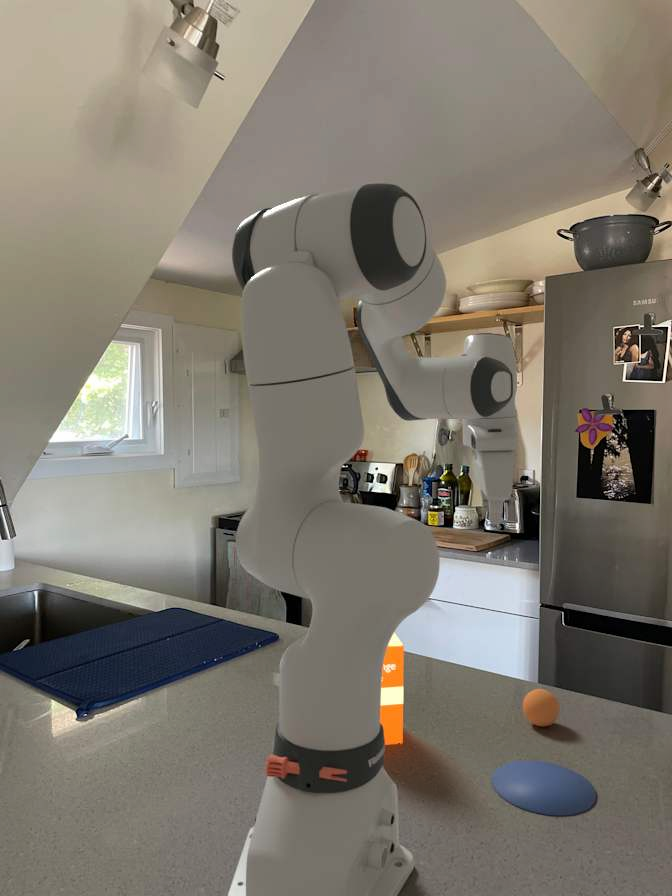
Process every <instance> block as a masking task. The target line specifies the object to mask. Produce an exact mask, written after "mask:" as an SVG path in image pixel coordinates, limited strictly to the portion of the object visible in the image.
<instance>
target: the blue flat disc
mask: <svg viewBox="0 0 672 896" xmlns="http://www.w3.org/2000/svg"><path fill="white" fill-rule="evenodd" d="M491 785H492V788H493V789H494V791H495V792H496V793H497V795H499V796H500V798H502V799H504V800H505V802H507V803H509V804H511V805H513V806H515V807H517V808H519V809H522V810H525V811H528V812H531V813H536V814H540V815H545V816H557V817H558V816H559V817H560V816H563V817H565V816H573V815H577V814H580V813H583V812H586V811H588V810H589V809H591V808H592V806H593V805H594V804H595V803H596V799H597V793H596V792H597V791H596V789H595V787H594V786H593V784H592V783H591V782H590V781H589V780H588V779H587V778H585V777H584V775H581V774H580V773H578V772H577V771H574V770H573V769H570V768H568V767H566V766H562V765H559V764H555V763H551V762H547V761H539V760H520V761H519V760H518V761H513V762H509V763H508V762H507V763H506V764H503V765H501V766H500V767H498V768H496V769H495V770H494V771H493V774H492V776H491Z"/></svg>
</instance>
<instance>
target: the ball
mask: <svg viewBox="0 0 672 896" xmlns="http://www.w3.org/2000/svg"><path fill="white" fill-rule="evenodd" d="M522 702H523V703H522V709H523V710H522V711H523V714H524V716H525V717H526V718H527V720H528V721H529V722H530V723H532V724H533V725H534V726H538V727H549V726H551V725H553V724H554V723H555V722H556V721H557V719H558V718H559V715H560V704H559V701H558V699H557V698H556V696H555V695H554V694H553V693H552V692H550V691H549V690H546V689H545V688H544V689H543V688H536V689H533V690H531V691H529V692H528V693H526V695H525V696H524V699H523V701H522Z"/></svg>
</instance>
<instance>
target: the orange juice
mask: <svg viewBox="0 0 672 896" xmlns="http://www.w3.org/2000/svg"><path fill="white" fill-rule="evenodd" d="M397 635H398V634H396V631H395V632H394V634H393V635H392V637H391V640H390V642H389V644H388V647H387V650H386V654H385V657H384V663H383V669H382V684H381V708H380V723H381V724H382V726H383V729H384V738H385V746H389V745H398V743H400V744H403V741H404V740H403V739H404V734H403V733H404V732H403V731H404V729H403V728H404V691H405V690H404V687H405V686H404V661H405V659H404V658H405V657H404V656H405V655H404V652H405V650H404V649H405V646H404V644H403V642H402V641H401V640H400V638H399V636H397Z"/></svg>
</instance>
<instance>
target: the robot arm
mask: <svg viewBox="0 0 672 896" xmlns="http://www.w3.org/2000/svg"><path fill="white" fill-rule="evenodd" d="M231 259H232V260H231V261H232V265H233V270H234V274H235V277H236V280H237V282H238V284H239V285H240V288H242V294H241V303H240V304H241V306H240V319H241V321H240V323H241V325H240V326H241V327H240V328H241V343H242V355H243V363H244V369H245V375H246V382H247V387H248V392H249V393H248V394H249V398H250V404H251V410H252V411H251V412H252V416H253V422H254V428H255V434H256V441H257V449H258V477H257V486H256V492H255V496H254V500H253V501H252V503H251V505H250V506H249V508H247V510H246V511H245V512H244V514H243V515H242V517H241V519H240V520H239V523H238V527H237V529H236V534H235V551H236V554H237V555H236V557H237V558H238V561H239V563H240V565H241V566H242V568H243V569H244V570H245V571H246V572H247V573H249V574H250V575H251V576H253V577H254V578H256V579H257V580H258V581H260V582H262V583H263V584H265V585H267V586H268V587H270V588H271V589H273V590H275V591H279V592H282V593H286V594H289V595H293V596H296V597H300V598H304V599H307V600H310V601H311V605H312V614H311V620H310V624H309V627H308V631H307V633H306V634H305V635H303V636H301V637H300V638H298V639H297V640H295V641H294V642H293V643H291V644H290V645H289V646H288V647H287V649H286V650H285V651H284V652H283V654H282V656H281V659H280V662H279V667H278V668H279V676H278V677H279V678H278V679H279V681H278V682H279V684H278V685H279V689H278V690H279V691H278V693H279V694H278V695H279V696H278V700H279V701H278V702H279V703H278V705H279V706H278V707H279V709H278V715H279V716H278V719H279V720H278V723H277V724H276V727H275V734H274V738H273V740H272V748H271V749H272V751H271V753H272V754H270V755H269V756H268V758H267V761H266V764H265V765H266V766H265V774H266V776H267V777H266V781H265V786H264V788H263V792H262V795H261V799H260V804H259V806H258V811H257V814H256V816H255V817H254V825H253V826H252V827H251V828H250V829H249V830H248V832H247V836H246V839H245V842H244V844H243V848H242V851H241V854H240V856H239V859H238V863H237V865H236V868H235V871H234V874H233V877H232V880H231V884H230V886H229V889H228V893H227V895H226V896H398V895H399V894H400V892H401V890H402V888H403V887H404V885H405V884H406V882H407V880H408V879H409V877H410V876H411V873H412V872H413V870H414V868H415V861H414V859H415V858H414V855H413V854H412V852H411V851H409V850H408V849H407V848H406V847H404V846H403V845H402V844H400V834H399V833H400V832H399V831H400V830H399V827H400V826H399V801H398V797H399V795H398V787H397V785H396V784H395V782H394V780H393V779H391V777H390V775H389V774H388V773H387V771H386V770H385V768H384V762H385V750H386V745H385V738H384V729H383V726H382V724H381V723H380V708H381V684H382V669H383V663H384V657H385V654H386V650H387V647H388V644H389V642H390V640H391V637H392V635H393V634H394V632H395V633H396V630H397V628H398V627H399V626H400V625H401V623H402V622H403V621H404V620H405V619H407V618H408V617H409V616H411V615H412V614H414V613H416V612H417V611H418V610H420V608H422V607H423V606H424V604H425V603H426V602H427V601H428V600H429V598H430V597H431V595H432V594H433V592H434V589H436V584H437V581H438V579H439V576H440V575H439V573H440V553H439V552H440V551H439V548H438V544H437V541H436V539H435V536H434V535H433V533H432V531H431V530H430V528H429V527H428V526H427V525H426V524H424V523H423V522H421V521H419V520H417V519H415V518H413V517H410V516H408V515H405V514H404V513H401V512H399V511H395V510H392V509H390V508H388V507H385V506H384V507H383V506H377V505H370V504H363V503H354V502H353V503H352V502H347V501H343V499H342V497H341V494H340V476H341V471H342V467H343V465H345V464H346V463H347V462H348V461H350V460H351V459H352V458H353V457H354V456H355V455H356V454H357V453H358V451H359V450H360V448H361V446H362V445H363V442H364V437H365V428H364V422H363V421H364V419H363V415H362V414H363V413H362V409H361V408H362V407H361V402H360V395H359V388H358V381H357V374H356V368H355V362H354V357H353V356H354V355H353V349H352V345H351V341H350V336H349V333H348V328H347V325H346V320H345V316H344V315H343V310H342V307H341V305H340V300H343V299H348V298H353V297H357V298H358V300H359V302H358V304H357V308H356V312H355V313H356V315H355V319H356V320H355V321H356V326H357V329H358V333H359V336H360V338H361V340H362V343H363V345H364V347H365V350H366V351H367V353H368V355H369V357H370V359H371V361H372V364H373V365H374V368H375V369H376V371H377V374H378V375H379V378H380V380H381V382H382V384H383V386H384V391H385V395H386V399H387V402H388V404H389V406H390V407H391V409H392V410H393V412H394V413H395V414H396V415H397V416H398V417H399V418H400V419H401V420H403V421H407V422H410V421H411V422H412V421H423V420H431V419H432V420H460V419H461V420H462V421H461V422H462V445H463V446H465V447H469V448H470V455H471V456H472V457H473V478H474V480H475V482H476V483H477V486H478V487H479V490H480V496H481V507H482V510H483V511H484V512H485V513H486V512H488V521H489V523H490V524H491V525H501V524H502V522H503V521H502V514H503V507H504V501H508V500H510V499H511V497H512V494H513V483H514V468H515V467H514V466H515V451H518V449H519V436H518V435H519V432H518V430H519V429H518V428H519V426H518V425H519V424H518V422H519V421H518V418H519V417H518V410H517V408H516V407H517V406H516V394H517V390H518V373H517V371H518V369H517V363H516V362H517V361H516V355H515V349H514V344H513V341H512V339H511V338H510V337H508V336H507V335H505V334H502V333H492V332H480V333H474V334H471V335H467V337H465V340H464V341H463V342H464V344H463V351H462V353H460V354H459V355H455V356H438V357H437V356H436V357H423V356H417V355H413V354H411V353H410V352H409V350H408V348H407V346H406V343H405V341H404V339H403V337H404V336H407V335H411V334H413V333H416V332H417V331H419V330H420V329H422V328H423V327H424V326H426V325H427V324H428V323H429V322H430V321H431V320H432V319H433V318H434V317H435V315H436V314H437V313H438V311H439V309H440V308H441V306H442V305H443V304H442V303H443V301H444V298H445V295H446V288H447V280H446V274H445V270H444V267H443V265H442V263H441V261H440V258H439V257H438V254H437V253H436V251H435V249H434V248H433V246H432V244H431V243H430V241H429V238H428V237H427V232H426V225H425V220H424V216H423V213H422V211H421V209H420V206H419V204H418V202H417V201H416V200H415V198H414V197H413V196H412V195H411V194H409V192H407V191H406V190H404V189H403V188H401V187H400V186H399V185H397V184H393V183H385V182H384V183H381V182H380V183H379V182H378V183H366V184H363V185H362V186H361V187H360V188H350V189H340V190H336V191H332V192H331V191H330V192H325V193H321V194H320V193H312V194H309V195H305V196H303V197H302V196H301V197H299V198H295V199H292V200H290V201H288V202H285V203H282V204H280V205H278V206H275V207H267V208H263V209H261V210H259V211H257V212H255V213H254V214H252V215H250V216H249V217H247V218H246V219H244V220H243V221H242V222H241V223H240V224H239V226H238V227H237V230H236V232H235V235H234V240H233V243H232V250H231Z"/></svg>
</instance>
